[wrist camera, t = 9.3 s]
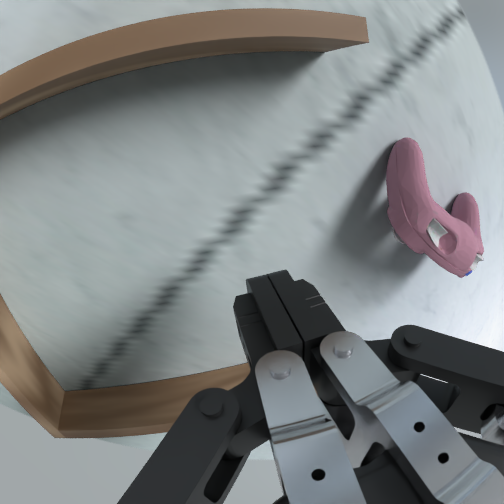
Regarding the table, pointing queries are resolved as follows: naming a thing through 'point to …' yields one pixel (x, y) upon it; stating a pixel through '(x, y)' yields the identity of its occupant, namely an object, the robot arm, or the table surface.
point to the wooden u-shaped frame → (102, 66)
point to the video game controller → (430, 214)
